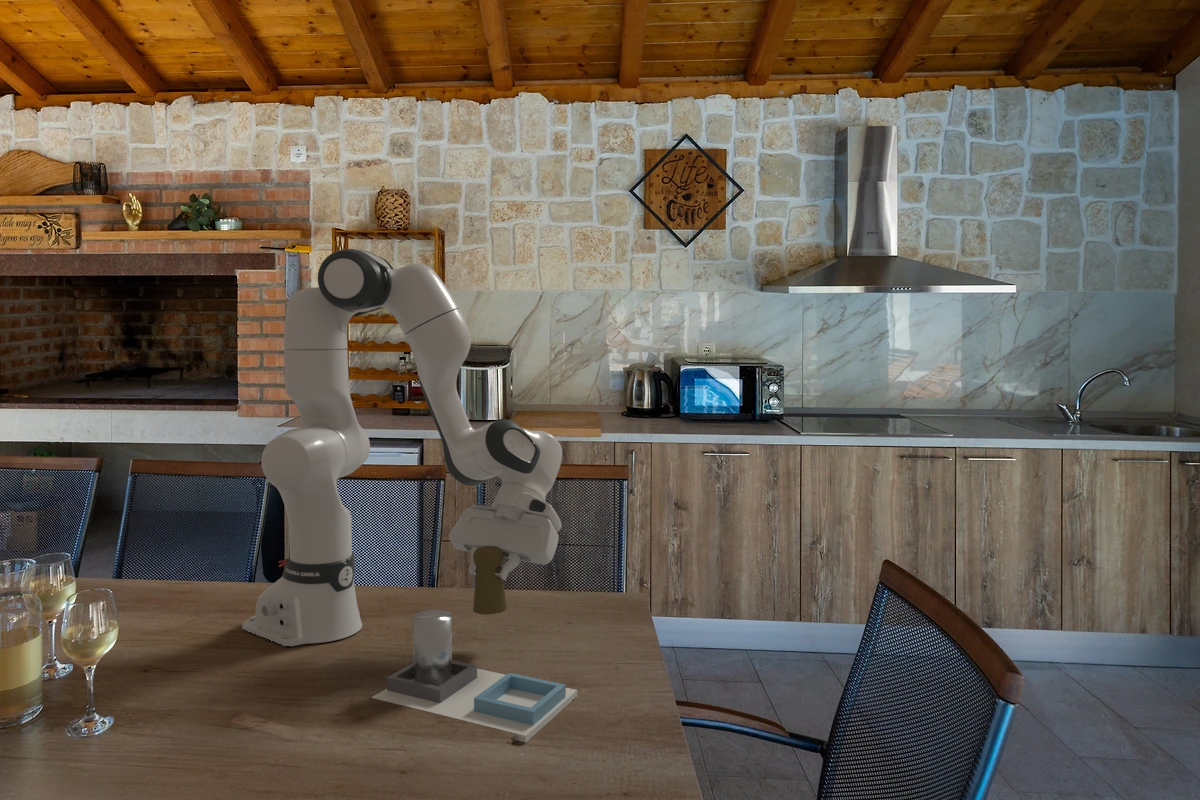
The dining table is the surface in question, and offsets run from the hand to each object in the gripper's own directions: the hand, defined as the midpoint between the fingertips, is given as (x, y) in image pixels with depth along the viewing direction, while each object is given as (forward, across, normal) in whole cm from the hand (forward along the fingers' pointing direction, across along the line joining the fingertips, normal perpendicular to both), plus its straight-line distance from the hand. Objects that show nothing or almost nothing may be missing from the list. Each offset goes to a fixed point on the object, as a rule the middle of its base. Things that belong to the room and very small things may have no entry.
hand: (486, 575), depth 144 cm
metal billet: (+21, +1, -2) cm, 21 cm away
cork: (+4, +1, +5) cm, 6 cm away
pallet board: (+21, +9, -2) cm, 23 cm away
